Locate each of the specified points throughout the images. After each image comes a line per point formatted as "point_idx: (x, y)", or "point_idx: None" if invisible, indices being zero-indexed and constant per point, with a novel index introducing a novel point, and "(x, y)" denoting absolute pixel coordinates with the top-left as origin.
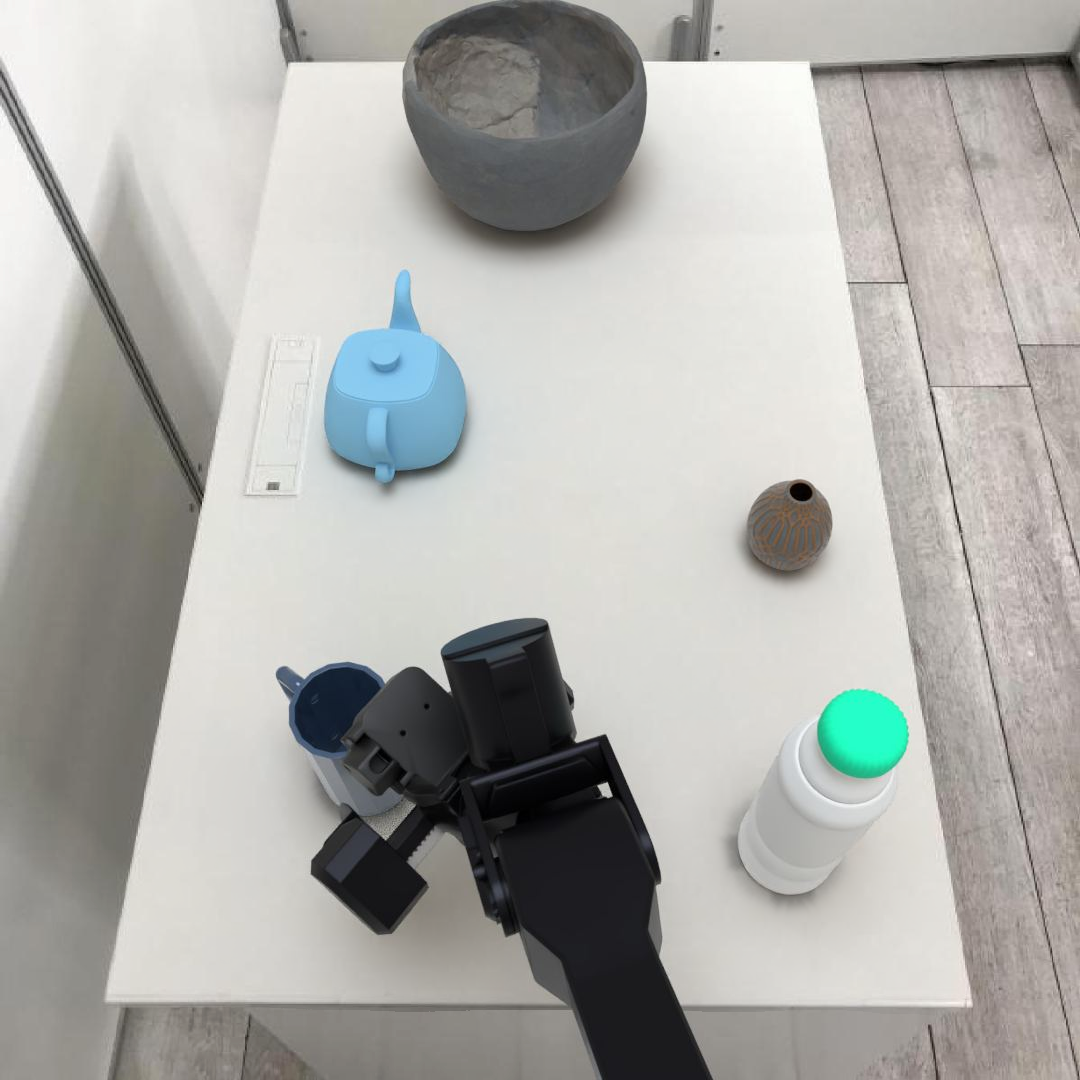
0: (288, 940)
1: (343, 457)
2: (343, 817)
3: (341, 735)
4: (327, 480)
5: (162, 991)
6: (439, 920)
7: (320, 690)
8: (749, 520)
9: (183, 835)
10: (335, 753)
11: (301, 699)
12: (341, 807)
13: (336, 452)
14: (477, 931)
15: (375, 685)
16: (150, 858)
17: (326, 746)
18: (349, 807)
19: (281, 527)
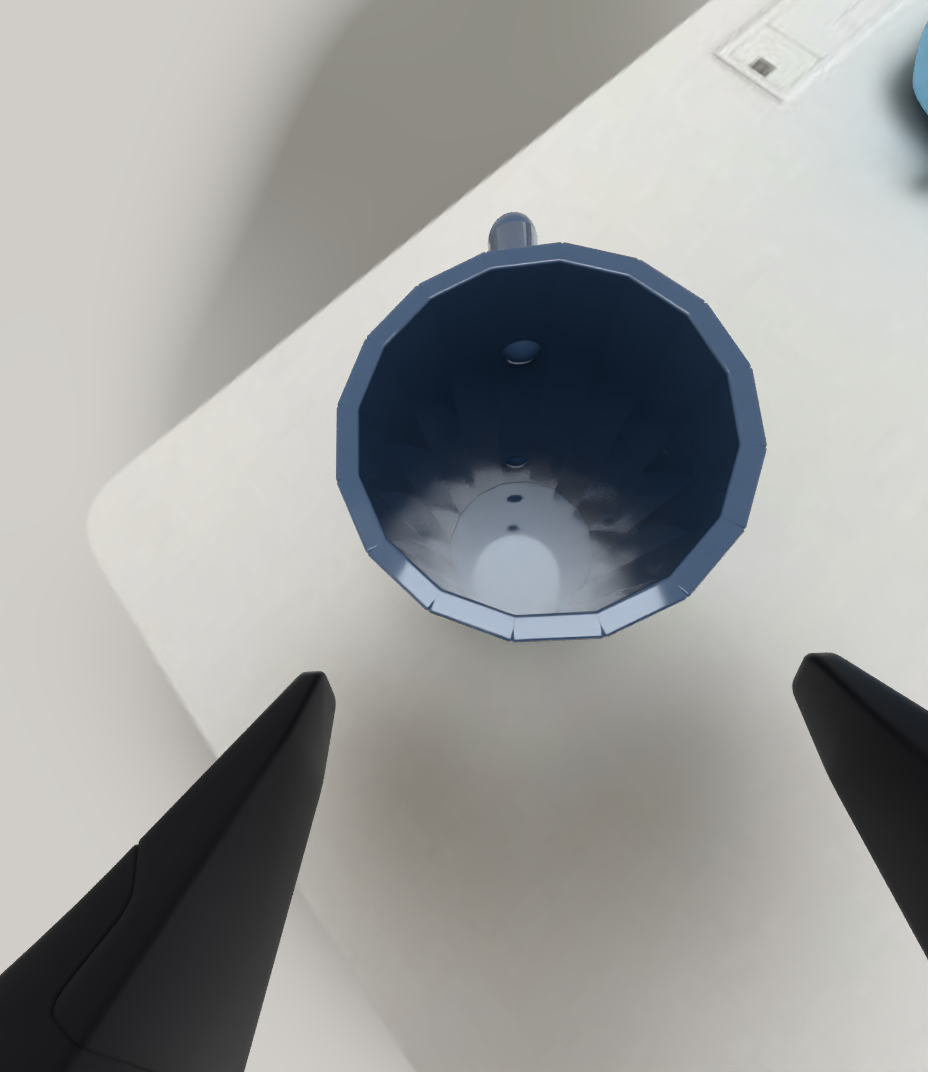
0: (246, 649)
1: (925, 66)
2: (189, 803)
3: (529, 471)
4: (845, 109)
5: (99, 559)
6: (415, 835)
7: (549, 343)
8: None
9: (267, 412)
10: (392, 550)
11: (474, 307)
12: (285, 701)
13: (924, 47)
14: (444, 910)
15: (699, 453)
16: (218, 405)
17: (492, 468)
18: (256, 773)
19: (720, 130)
